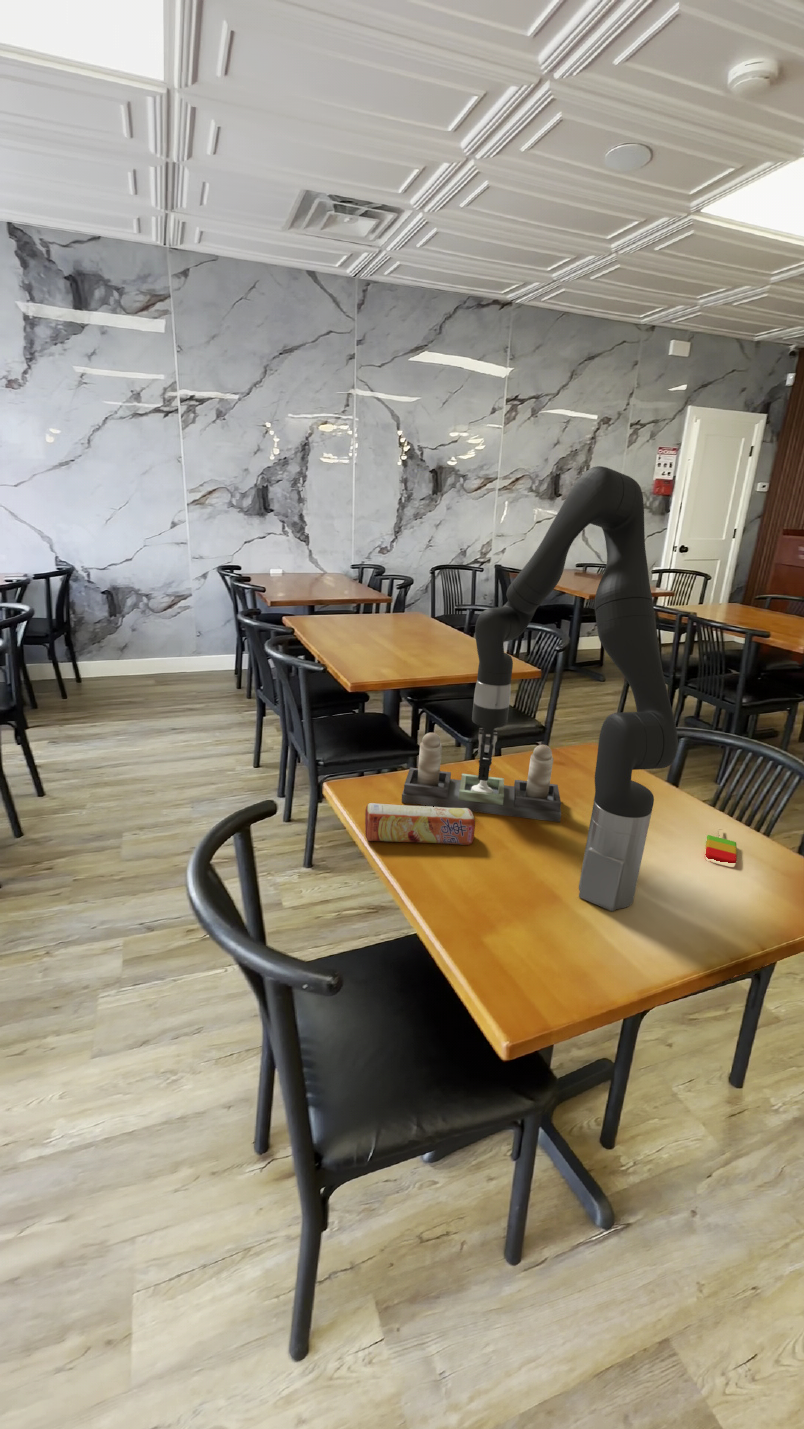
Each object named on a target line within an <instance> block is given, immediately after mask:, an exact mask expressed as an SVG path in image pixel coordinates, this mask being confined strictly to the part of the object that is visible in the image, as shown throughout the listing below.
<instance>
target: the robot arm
mask: <svg viewBox="0 0 804 1429" xmlns="http://www.w3.org/2000/svg"><path fill="white" fill-rule="evenodd" d="M644 503H645V501H644V496H643V491H642V488H641V485H639V483H638V482H637V481H636V480H635V479H634V478H633V477H631V476H629V475H626V474H625V473H624V474H623V473H621V472H619V471H616V470H614V469H612V468H610V467H607V466H600V465H597V466H592V467H591V468H589V469H587V470H586V471H585V472H583V473H582V474H581V476H580V477H579V478H578V479H577V480H576V482H575V483H574V485H573V486H572V488H571V489H570V491H569V492H568V494H567V496H566V498H565V500H564V502H563V503H562V505H561V507H560V508H559V510H558V512H557V514H556V515H555V517H554V519H553V520H552V523H551V524H550V526H549V527H548V530H547V532H546V533H545V536H544V537H543V538H542V540H541V542H540V544H539V545H538V547H537V548H536V550H535V552H534V553H533V555H532V556H531V557H530V559H529V560H528V561H527V563H526V564H525V565H524V566H523V568H522V569H521V570H520V571H519V573H518V574H517V575H516V576H515V578H514V579H513V580H512V582H511V583H510V584H509V585H508V587H507V590H506V594H505V595H506V599H507V602H506V603H504V605H502V606H501V607H492V608H487V609H485V610H483V611H482V612H481V613H479V615H478V617H477V619H476V622H475V625H474V626H475V627H474V635H475V644H476V652H477V656H478V667H477V668H478V669H477V678H476V682H475V688H474V694H473V706H472V713H471V714H472V715H471V716H472V717H471V720H472V722H473V723H474V724H475V725H477V726H480V727H479V728H478V738H477V739H478V750H477V752H478V754H479V760H478V763H479V764H478V779H479V780H484V781H487V780H488V777H490V776H489V775H490V771H489V768H491V765H492V762H493V761H491V759H492V760H493V755H495V748H496V743H497V742H498V729H499V728H504V727H505V726H507V724H508V720H509V711H510V702H511V695H512V694H511V693H512V692H511V690H512V689H511V685H512V684H511V683H512V675H513V666H514V665H513V664H514V662H513V658H512V656H511V655H510V654H509V653H507V652H505V648H504V643H505V642H509V641H510V642H511V641H513V640H515V639H517V638H519V636H521V635H522V634H523V633H524V632H525V631H526V629H527V628H528V626H529V624H530V623H531V622H532V619H533V617H534V615H535V613H536V611H537V609H538V608H539V607H540V605H542V603H544V601H545V600H546V598H547V597H548V596H549V595H550V594H551V593H552V592H553V590H554V589H555V588H556V587H557V585H558V584H559V581H560V580H561V578H562V576H563V572H564V570H565V569H564V568H565V565H566V560H567V557H568V553H569V550H570V548H571V546H572V544H573V542H574V541H575V539H576V538H577V537H578V536H579V535H580V534H581V533H582V532H583V530H585V528H587V527H588V526H589V525H593V526H597V527H599V528H601V530H602V532H603V536H604V539H605V540H604V542H605V547H606V548H605V549H606V564H605V565H606V566H605V569H604V572H603V574H602V575H601V577H600V578H601V579H600V581H599V584H598V586H597V589H596V592H595V597H594V614H595V622H596V629H597V635H598V640H599V642H600V644H601V646H602V647H603V649H604V650H605V653H607V655H608V656H609V658H610V659H611V661H612V662H613V663H614V665H615V666H616V667H617V669H618V670H619V671H620V672H621V674H622V676H624V678H625V679H626V681H627V683H628V684H629V687H630V689H631V690H630V691H631V692H632V695H633V698H634V702H635V708H636V711H631V712H630V711H627V712H624V711H623V712H613V713H611V714H609V715H608V716H607V717H606V718H605V719H604V721H603V723H602V726H601V727H600V728H601V729H600V731H599V732H600V733H599V738H598V744H597V745H598V746H597V755H596V762H595V763H596V764H595V769H594V770H595V771H594V792H595V793H594V800H593V805H592V810H591V815H590V820H589V827H588V831H587V832H588V833H587V838H586V844H585V850H584V854H583V860H582V867H581V871H580V872H581V873H580V879H579V884H578V890H579V893H578V898H580V899H583V900H585V901H588V902H589V903H592V904H594V905H596V906H599V907H601V908H603V909H605V910H608V911H609V912H615V910H618V909H624V908H627V907H629V906H631V905H632V904H633V901H634V899H635V894H636V890H637V885H638V884H637V883H638V878H639V874H640V871H641V870H640V869H641V864H642V859H643V857H644V856H643V855H644V850H645V845H646V842H647V841H646V840H647V837H648V831H649V826H650V822H651V816H652V813H653V807H654V803H655V802H654V801H655V797H654V794H653V791H652V790H650V789H649V788H647V787H646V786H645V785H643V784H641V783H639V782H637V781H636V780H635V781H634V780H632V774H633V771H634V770H636V771H637V770H640V771H641V770H656V769H657V770H658V769H659V770H660V769H664V768H668V767H669V766H670V765H672V764H673V763H674V760H675V759H676V757H677V752H678V746H679V745H678V744H679V742H678V740H679V739H678V731H677V726H676V720H675V717H674V716H675V715H674V713H673V708H672V705H671V701H670V700H671V699H670V697H669V692H668V688H667V684H666V681H665V676H664V671H663V665H662V659H661V653H660V647H659V639H658V633H657V632H658V631H657V630H658V629H657V622H656V616H655V615H656V613H655V608H654V606H655V605H654V600H653V595H652V590H651V584H650V576H649V566H648V560H647V559H648V558H647V551H646V541H645V540H646V537H645V535H646V534H645V533H646V532H645V505H644ZM497 728H498V729H497ZM483 758H488V759H483Z"/></svg>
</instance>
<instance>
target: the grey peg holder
mask: <svg viewBox="0 0 804 1429" xmlns="http://www.w3.org/2000/svg"><path fill="white" fill-rule="evenodd" d="M442 749H443V744H441V738H440V735H438V734H437V733H435V732H427V733H425V734H424V736H423V737H422V740H421V742H420V743H419V756H418V767H409V770H408V772H407V775H406V779H405V781H404V785H403V791H402V794H401V802H404V803H403V804H408V803H409V804H411V805H417V804H421V805H420V806H425V805H426V806H431V807H433V806H434V807H444V808H468V809H470V810H471V812H475V813H483V814H493V815H499V816H508V817H516V818H522V819H532V820H533V819H534V820H540V821H548V822H555V823H556V822H557V823H561V817H562V809H561V807H562V802H561V795H560V790H559V786H558V784H556V783H551V777H552V771H553V770H552V769H553V765H554V757H553V751H552V749H551V748H550V746H548V745H547V744H539V745H537V746H536V747H534V749H533V751H532V752H533V753H532V754H530V757H529V758H530V760H529V766H528V774H527V780H521V779H514V783H513V784H514V785H505V778H504V777H503V778H502V777H495V776H489V777H488V780H487V785H488V787H490V788H491V789H492V790H493V793H487V792H478V791H471V789H472V786H474V785H478V784H479V783H480V780H479V779H478V775H477V774H469V773H461V778H460V779H453V778H451V776H452V772H451V771H445V770H444V771H443V770H441V764H442V763H441V760H442Z"/></svg>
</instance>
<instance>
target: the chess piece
mask: <svg viewBox="0 0 804 1429" xmlns="http://www.w3.org/2000/svg"><path fill="white" fill-rule="evenodd" d="M483 759H488V758H483ZM492 760H493V758H492V759H491V762H493V761H492ZM490 771H491V767H490V768H489V772H490ZM471 791H478V792H487V793H493V790H492V789H491V788H490V787H488V785H487V781H484V780H480V783H479V784H478V785H474V786H472V789H471Z"/></svg>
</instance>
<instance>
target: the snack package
mask: <svg viewBox="0 0 804 1429" xmlns="http://www.w3.org/2000/svg"><path fill="white" fill-rule="evenodd" d="M364 814H365V817H364V818H365V820H364V823H365V828H364V829H365V839H366V840H367V841H368V842H394V843H397V842H398V843H423V844H424V843H425V844H427V843H428V844H429V843H430V844H431V843H432V844H450V845H451V844H452V845H462V846H469V845H472V843H473V842H474V838H475V830H476V820H475V817H474V814H473V811H471V810H470V809H468V808H444V807H433V806H425V805H405V804H403V805H402V804H390V803H389V804H388V803H374V802H370V803H367V805H366V807H365V812H364Z"/></svg>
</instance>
